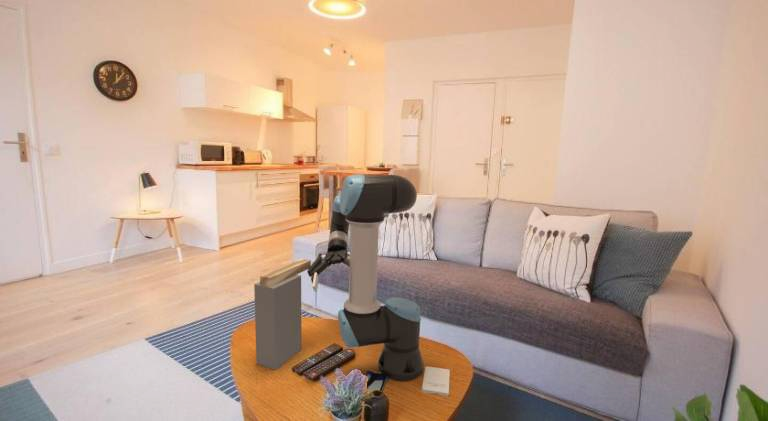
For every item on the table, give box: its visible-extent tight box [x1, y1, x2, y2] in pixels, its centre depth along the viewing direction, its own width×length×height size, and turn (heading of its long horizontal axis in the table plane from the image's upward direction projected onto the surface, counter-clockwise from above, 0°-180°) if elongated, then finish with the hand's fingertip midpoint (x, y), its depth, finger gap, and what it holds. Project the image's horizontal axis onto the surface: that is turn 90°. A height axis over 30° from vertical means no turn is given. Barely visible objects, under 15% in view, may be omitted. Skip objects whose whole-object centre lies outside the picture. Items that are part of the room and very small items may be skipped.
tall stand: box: [253, 274, 303, 371], centre depth 127 cm, size 8×14×28 cm, turn 156°
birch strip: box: [259, 258, 312, 287], centre depth 129 cm, size 4×22×3 cm, turn 156°
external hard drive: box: [421, 365, 451, 397], centre depth 118 cm, size 2×8×12 cm
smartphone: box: [364, 370, 389, 393], centre depth 114 cm, size 7×1×15 cm
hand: (333, 286), depth 129 cm, fingers open, 13 cm apart
